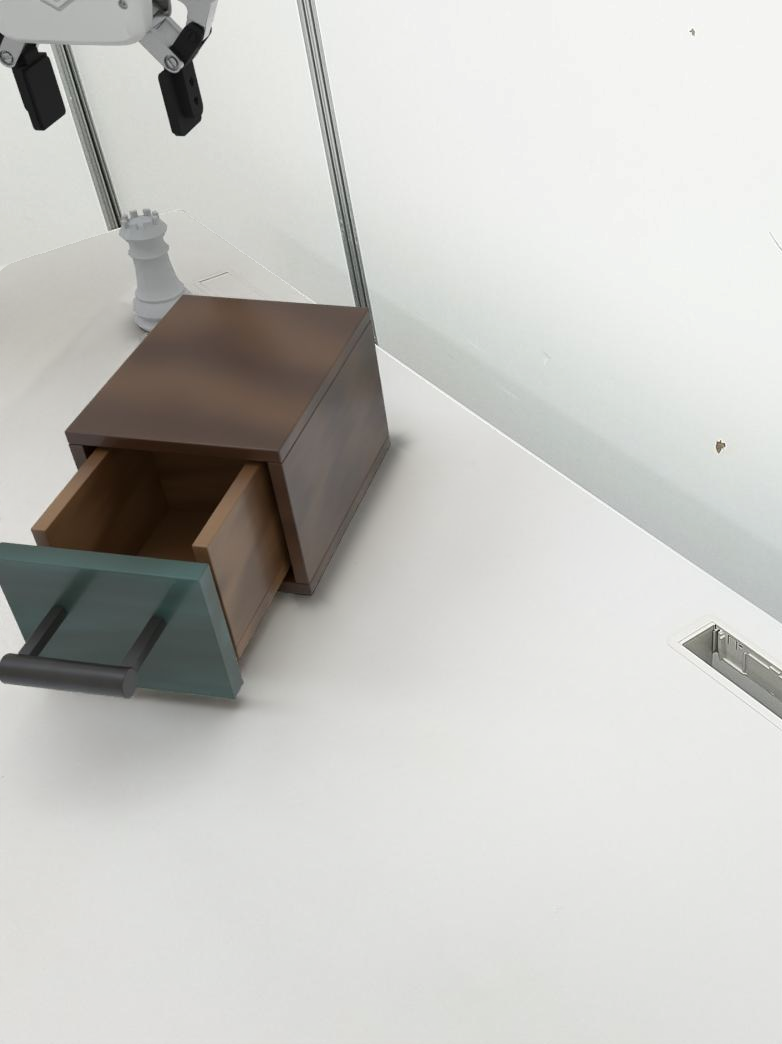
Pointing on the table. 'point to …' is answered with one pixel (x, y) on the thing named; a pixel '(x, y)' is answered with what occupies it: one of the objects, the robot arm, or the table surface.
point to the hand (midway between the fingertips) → (119, 125)
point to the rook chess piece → (151, 267)
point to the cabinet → (257, 408)
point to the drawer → (145, 576)
